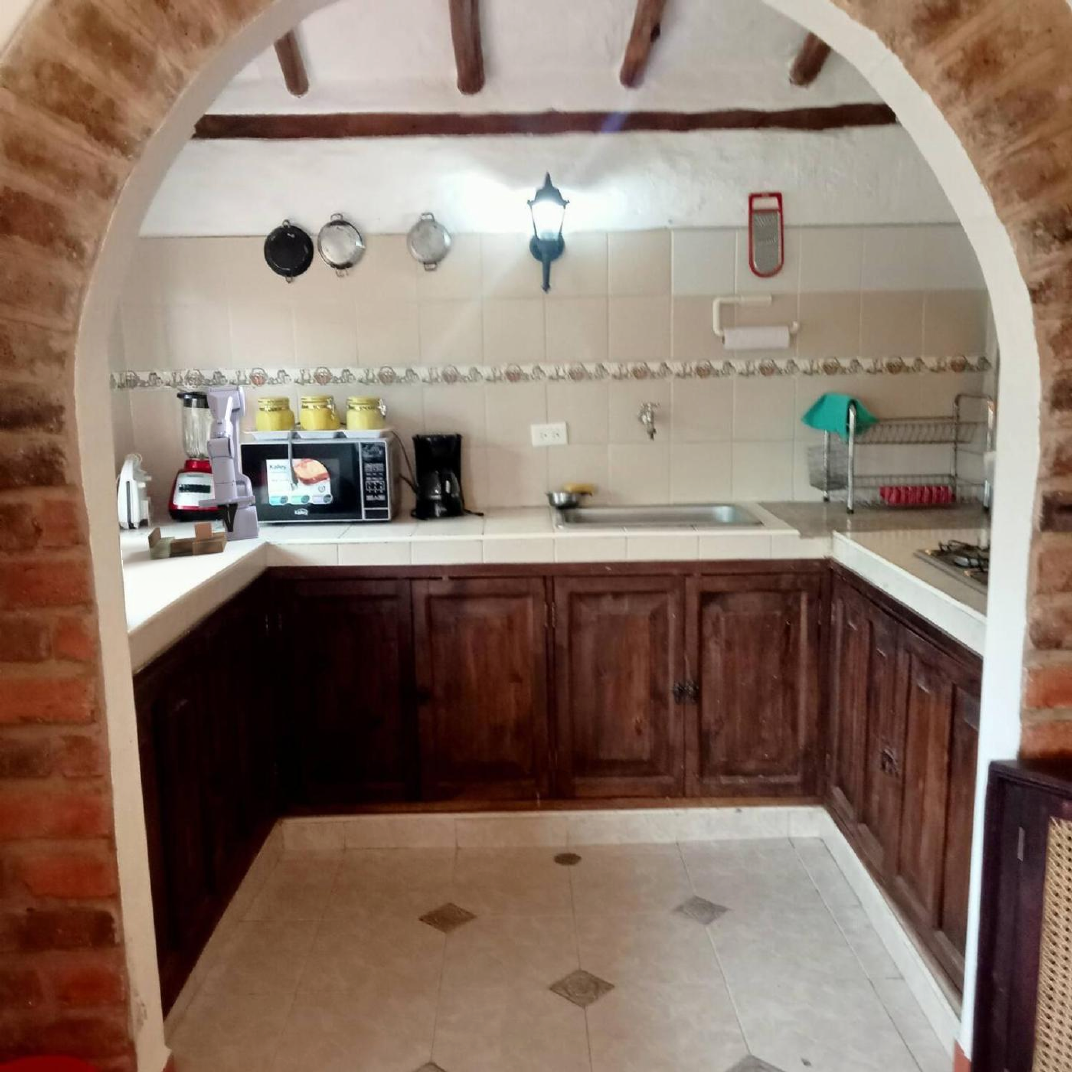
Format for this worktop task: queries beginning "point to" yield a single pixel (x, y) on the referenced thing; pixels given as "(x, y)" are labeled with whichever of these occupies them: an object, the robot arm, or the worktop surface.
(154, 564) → the worktop surface
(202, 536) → the block
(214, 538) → the board
